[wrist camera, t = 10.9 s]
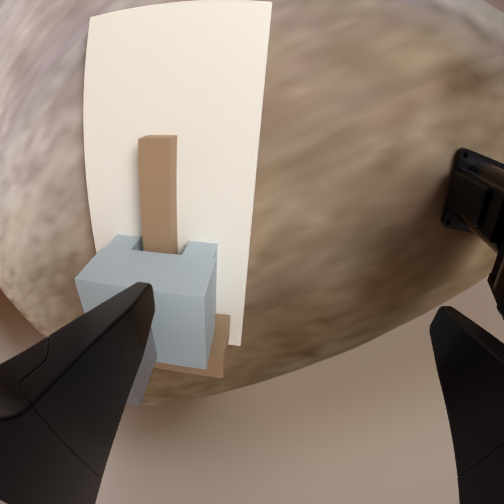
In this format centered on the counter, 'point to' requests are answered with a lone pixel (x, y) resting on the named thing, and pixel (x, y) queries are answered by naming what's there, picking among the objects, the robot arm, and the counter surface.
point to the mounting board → (179, 137)
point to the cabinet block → (160, 299)
